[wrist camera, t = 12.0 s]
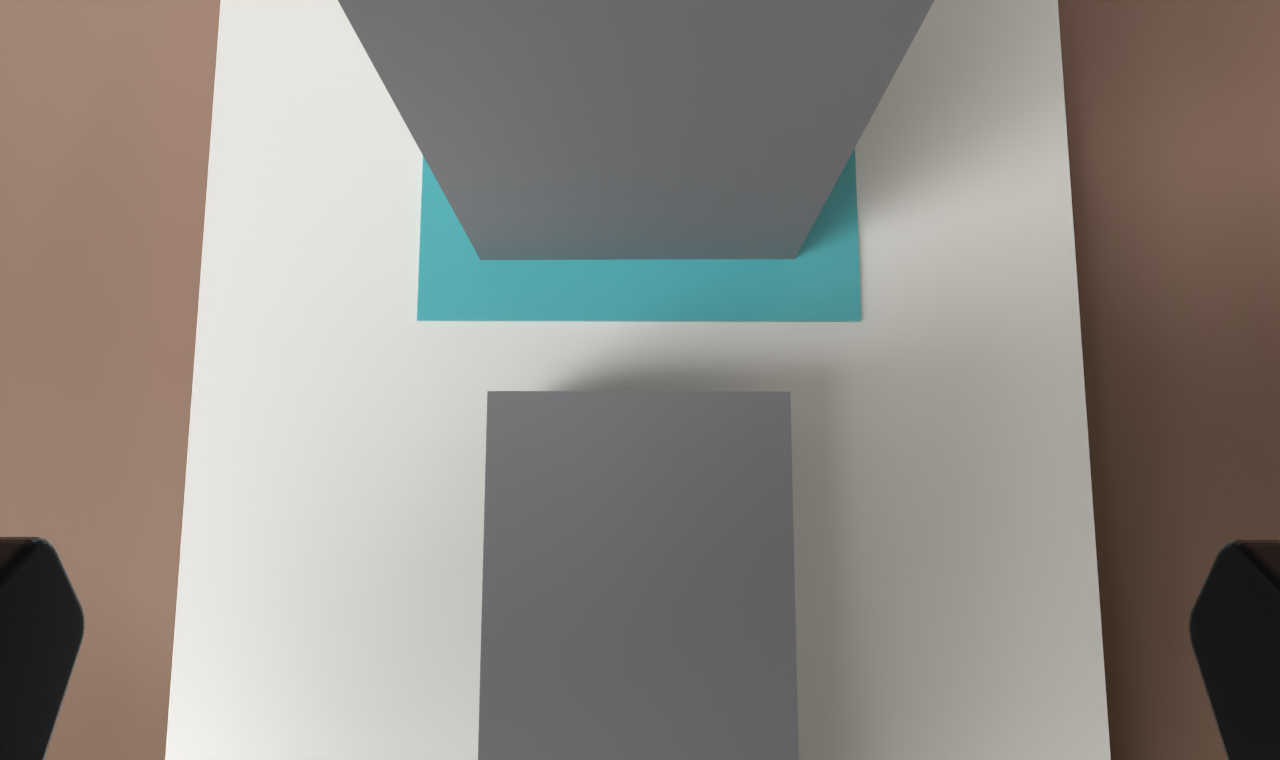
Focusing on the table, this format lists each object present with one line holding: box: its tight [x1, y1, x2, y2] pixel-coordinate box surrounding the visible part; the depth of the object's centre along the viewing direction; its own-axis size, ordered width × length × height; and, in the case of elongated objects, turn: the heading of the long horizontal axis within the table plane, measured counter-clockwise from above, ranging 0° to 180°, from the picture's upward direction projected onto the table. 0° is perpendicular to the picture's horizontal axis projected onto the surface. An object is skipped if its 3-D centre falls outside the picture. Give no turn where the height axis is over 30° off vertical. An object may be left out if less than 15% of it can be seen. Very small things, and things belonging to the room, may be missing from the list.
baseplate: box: [165, 0, 1111, 760], centre depth 15 cm, size 22×14×4 cm, turn 0°
